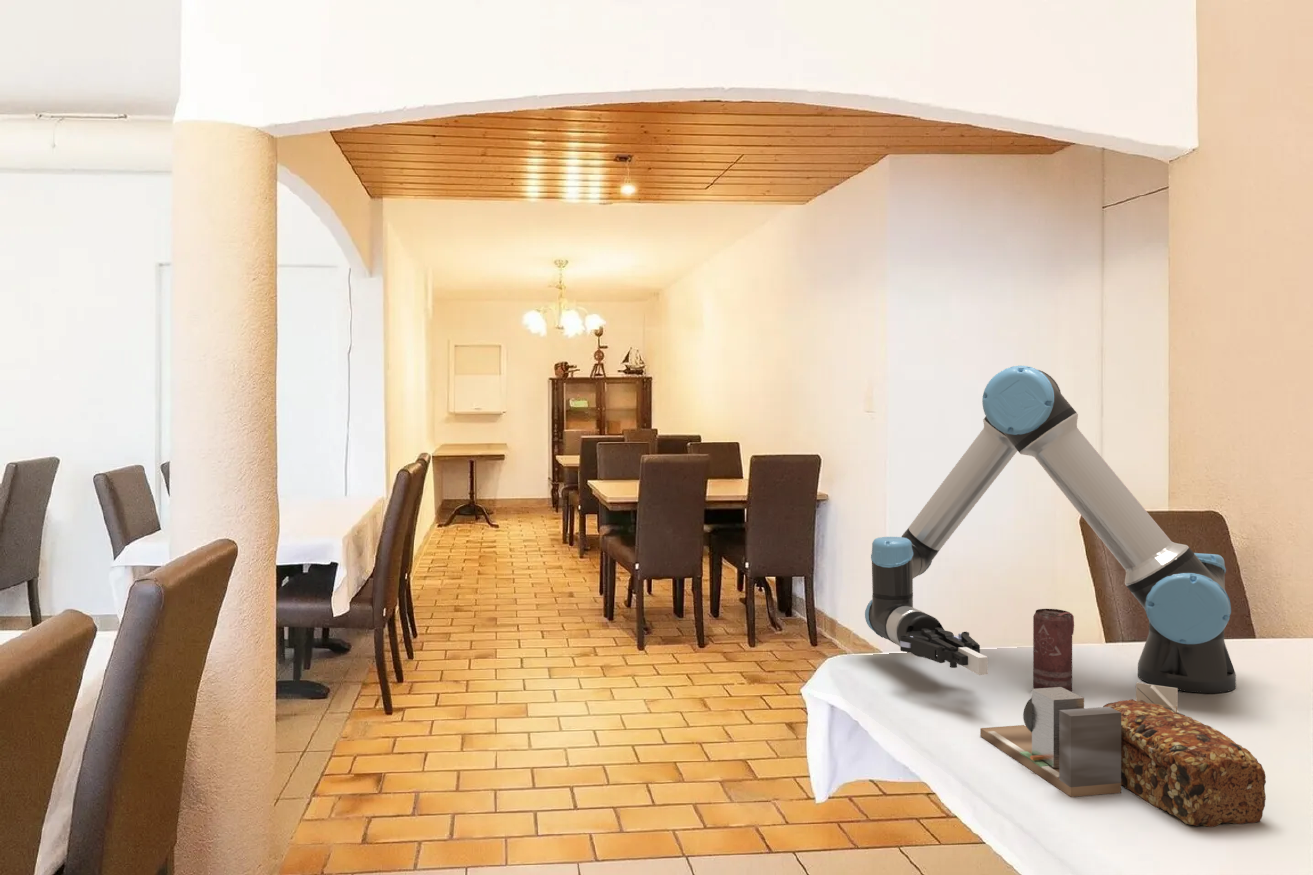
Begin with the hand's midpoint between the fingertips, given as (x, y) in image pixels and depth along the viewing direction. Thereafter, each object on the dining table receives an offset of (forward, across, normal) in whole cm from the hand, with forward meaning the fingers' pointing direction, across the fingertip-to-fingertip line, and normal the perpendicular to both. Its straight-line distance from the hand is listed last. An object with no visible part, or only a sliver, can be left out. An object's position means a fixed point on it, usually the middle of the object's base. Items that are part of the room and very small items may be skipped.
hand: (983, 665), depth 142 cm
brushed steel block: (+19, 0, -8) cm, 20 cm away
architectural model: (+9, -23, -10) cm, 26 cm away
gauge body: (+15, 0, -9) cm, 18 cm away
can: (-12, -19, -9) cm, 24 cm away
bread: (+29, -10, -10) cm, 32 cm away
